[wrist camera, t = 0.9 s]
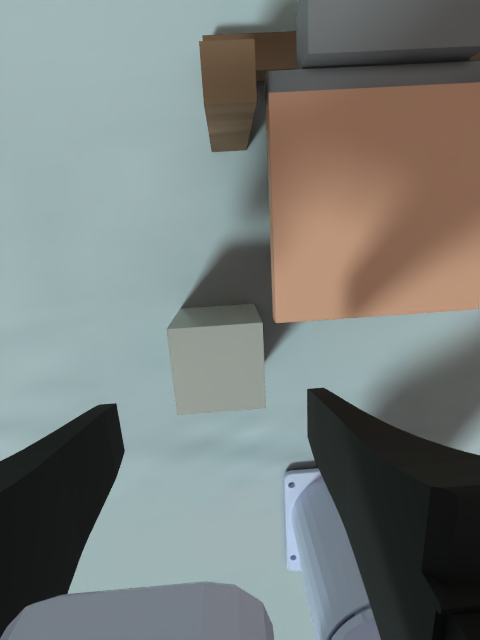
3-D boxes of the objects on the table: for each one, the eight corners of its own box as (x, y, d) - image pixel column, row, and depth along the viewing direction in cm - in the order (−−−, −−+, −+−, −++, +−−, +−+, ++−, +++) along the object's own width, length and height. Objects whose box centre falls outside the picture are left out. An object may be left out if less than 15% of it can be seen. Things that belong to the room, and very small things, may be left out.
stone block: (257, 370, 22) (266, 408, 17) (188, 375, 22) (177, 415, 17) (253, 303, 20) (262, 322, 16) (180, 308, 20) (166, 329, 15)
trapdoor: (456, 303, 17) (486, 311, 15) (271, 315, 16) (277, 325, 15) (491, 6, 13) (536, -34, 12) (261, 15, 13) (266, -23, 11)
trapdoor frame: (468, 137, 18) (594, 84, 12) (211, 151, 18) (203, 104, 12) (480, 36, 17) (626, -81, 11) (204, 49, 17) (190, -65, 10)
